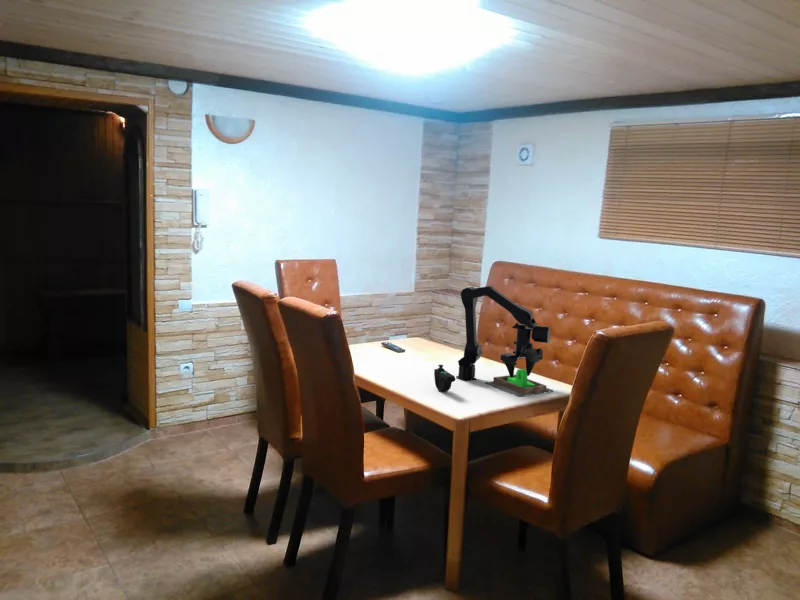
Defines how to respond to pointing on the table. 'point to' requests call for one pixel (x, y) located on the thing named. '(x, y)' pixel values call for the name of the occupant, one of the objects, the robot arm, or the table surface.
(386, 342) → the table surface
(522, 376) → the mechanical part
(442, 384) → the controller
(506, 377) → the seat
